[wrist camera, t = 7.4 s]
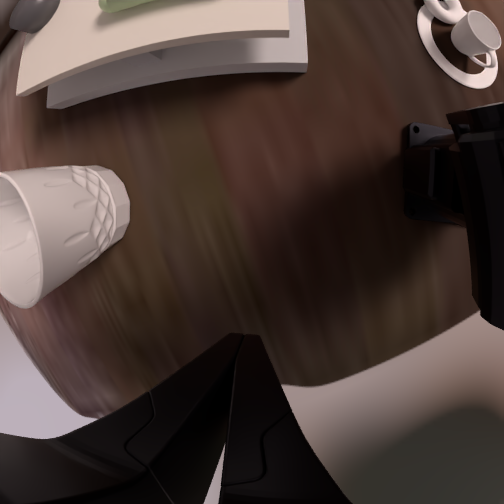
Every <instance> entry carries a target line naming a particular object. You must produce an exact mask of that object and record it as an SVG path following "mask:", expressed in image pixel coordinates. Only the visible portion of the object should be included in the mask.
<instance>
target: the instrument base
mask: <svg viewBox="0 0 504 504" xmlns="http://www.w3.org/2000/svg"><path fill="white" fill-rule="evenodd" d="M288 11H289V38H245V39H230V40H219V41H209V42H201V43H194V44H187V45H181V46H175V47H170V48H165V49H160V50H155V51H150V52H146V53H142V54H138V55H134V56H130V57H126V58H123V59H119V60H116V61H112V62H109V63H106V64H103V65H100V66H97V67H94V68H91V69H88V70H85V71H82V72H80V73H77V74H74V75H72V76H69V77H67V78H64V79H62V80H59V81H57V82H55V83H52V84H50V85H48V94H47V108H54V109H64V108H67V107H70V106H72V105H75V104H78V103H81V102H85V101H88V100H91V99H94V98H98V97H101V96H105V95H108V94H112V93H116V92H120V91H124V90H128V89H132V88H137V87H141V86H146V85H151V84H156V83H162V82H167V81H173V80H180V79H186V78H194V77H202V76H211V75H221V74H234V73H253V72H305V73H306V72H307V65H308V57H307V38H306V22H305V8H304V0H288Z"/></svg>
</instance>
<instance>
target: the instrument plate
mask: <svg viewBox="0 0 504 504" xmlns="http://www.w3.org/2000/svg"><path fill="white" fill-rule="evenodd" d="M9 24H10V27H11V28H12V29H16V30H20V31H23V32H27V34H26V38H25V43H24V47H23V52H22V57H21V63H20V69H19V75H18V83H17V91H16V96H27V95H29V94H31V93H33V92H35V91H37V90H39V89H41V88H44V87H46V86H48V85H50V84H52V83H55V82H57V81H59V80H62V79H64V78H67V77H69V76H72V75H74V74H77V73H80V72H82V71H85V70H88V69H91V68H94V67H97V66H100V65H103V64H106V63H109V62H112V61H116V60H119V59H123V58H126V57H130V56H134V55H138V54H142V53H146V52H150V51H155V50H160V49H165V48H170V47H175V46H181V45H187V44H194V43H201V42H209V41H219V40H230V39H245V38H289V11H288V0H20V1H19V2H18V4H17V5H16V7H15V8H14V10H13V12H12V15H11V18H10V23H9Z"/></svg>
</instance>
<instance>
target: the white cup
mask: <svg viewBox="0 0 504 504" xmlns="http://www.w3.org/2000/svg"><path fill="white" fill-rule="evenodd" d="M129 222H130V200H129V198H128V195H127V192H126V189H125V186H124V183H123V182H122V181H121V180H120V179H119V178H118V177H117V175H116V174H115V173H114V172H113V171H112V170H109V169H107V168H104V167H101V166H98V165H95V166H50V167H39V168H29V169H21V170H12V171H4V172H0V293H1V294H2V296H3V297H4V298H5V299H7V300H8V301H9V302H10V303H12V304H13V305H15V306H17V307H19V308H30V307H32V306H34V305H35V304H36V303H38V302H39V301H40V300H41V299H43V298H44V297H45V296H47V295H48V294H49V293H51V292H52V291H53V290H54V289H56V288H57V287H59V286H60V285H61V284H63V283H64V282H65V281H67V280H68V279H69V278H71V277H72V276H74V275H75V274H76V273H78V272H79V271H80V270H81V269H82V268H84V267H85V266H87V265H88V264H89V263H91V262H92V261H93V260H95V259H96V258H98V257H99V256H100V255H101V253H102V252H104V251H105V250H107V249H108V248H110V247H111V246H113V245H114V244H115V243H116V242H118V241H119V240H120V239H121V238H123V236H124V233H125V231H126V229H127V226H128V224H129Z"/></svg>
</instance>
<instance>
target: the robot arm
mask: <svg viewBox="0 0 504 504" xmlns="http://www.w3.org/2000/svg"><path fill="white" fill-rule="evenodd" d="M446 117H447V120H448V122H449V124H451V127H452V130H449V129H445V128H441V127H436V126H432V125H427V124H422V123H417V122H413V123H411V124H409V125H408V129H407V132H408V142H407V149H406V150H405V151H404V175H403V188H404V189H405V191H406V192H405V204H404V214H405V215H406V216H407V217H408V218H410V219H417V220H428V221H439V222H449V223H457V224H459V225H461V226H463V227H465V228H466V229H467V236H468V244H469V253H470V265H471V280H472V296H473V298H474V300H475V302H476V304H477V305H478V307H479V308H480V315H481V317H482V318H484V319H485V320H486V321H487V322H489V323H490V324H492V325H493V326H495V327H498V328H500V329H502V330H504V102H500V103H494V104H489V105H484V106H479V107H475V108H470V109H466V110H461V111H457V112H453V113H448V114H446ZM413 127H416V128H417V133H415V132H414V131H413ZM411 208H413V210H414V211H413V213H412V214H410V213H409V210H410V209H411ZM225 442H226V443H225ZM224 445H225V453H224V461H223V470H222V479H221V490H220V497H219V503H218V504H353V503H352V502H351V501H350V500H349V499H348V498H347V497H346V496H345V494H344V493H343V492H342V490H341V489H340V488H339V486H338V485H337V484H336V482H335V481H334V480H333V478H332V477H331V475H330V474H329V473H328V471H327V470H326V469H325V467H324V466H323V464H322V463H321V461H320V460H319V458H318V457H317V456H316V454H315V453H314V451H313V449H312V448H311V446H310V445H309V443H308V441H307V440H306V438H305V436H304V434H303V433H302V430H301V429H300V426H299V425H298V422H297V420H296V418H295V416H294V414H293V412H292V409H291V407H290V405H289V402H288V400H287V398H286V396H285V393H284V391H283V389H282V386H281V384H280V382H279V380H278V377H277V375H276V373H275V370H274V368H273V366H272V363H271V361H270V359H269V356H268V354H267V352H266V349H265V347H264V344H263V342H262V340H261V337H260V336H259V335H253V334H246V335H245V336H244V334H240V333H229V334H228V335H226V336H225V337H224V338H222V339H221V340H220V341H218V342H217V343H216V344H214V345H213V346H211V347H210V348H209V349H207V350H206V351H205V352H203V353H202V354H200V355H199V356H198V357H196V358H195V359H193V360H192V361H191V362H189V363H188V364H186V365H185V366H183V367H182V368H181V369H179V370H178V371H176V372H175V373H173V374H172V375H171V376H169V377H168V378H166V379H165V380H163V381H162V382H160V383H159V384H157V385H156V386H154V387H153V388H151V389H150V390H149V392H145V393H144V394H142V395H141V396H139V397H138V398H136V399H135V400H133V401H131V402H130V403H128V404H126V405H125V406H123V407H122V408H120V409H118V410H116V411H114V412H112V413H110V414H108V415H106V416H104V417H102V418H100V419H98V420H96V421H94V422H92V423H90V424H88V425H85V426H83V427H81V428H79V429H77V430H74V431H72V432H70V433H68V434H65V435H63V436H60V437H56V438H50V439H34V438H27V437H20V436H14V435H9V434H4V433H0V504H203V503H204V501H205V498H206V496H207V493H208V490H209V487H210V485H211V482H212V479H213V476H214V473H215V471H216V468H217V465H218V462H219V459H220V457H221V454H222V451H223V448H224Z"/></svg>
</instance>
